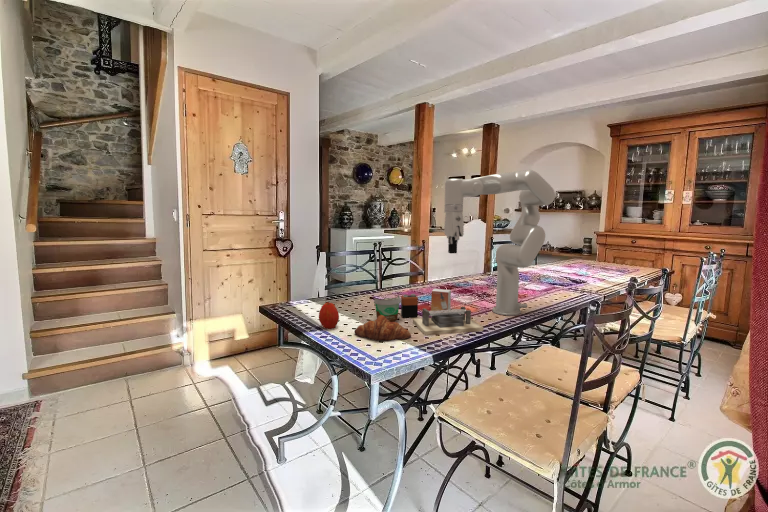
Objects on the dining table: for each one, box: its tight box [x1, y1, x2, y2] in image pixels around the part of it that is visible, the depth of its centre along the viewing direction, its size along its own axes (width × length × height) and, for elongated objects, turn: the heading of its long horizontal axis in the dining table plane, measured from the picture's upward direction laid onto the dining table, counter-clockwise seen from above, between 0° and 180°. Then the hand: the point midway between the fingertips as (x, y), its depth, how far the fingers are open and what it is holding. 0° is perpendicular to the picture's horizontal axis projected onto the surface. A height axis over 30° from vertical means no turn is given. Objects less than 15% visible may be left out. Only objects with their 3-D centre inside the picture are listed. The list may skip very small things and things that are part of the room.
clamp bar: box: [428, 308, 467, 317], centre depth 149 cm, size 17×4×1 cm, turn 102°
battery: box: [400, 293, 419, 319], centre depth 164 cm, size 4×7×10 cm, turn 98°
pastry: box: [354, 315, 412, 342], centre depth 139 cm, size 17×15×8 cm
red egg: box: [318, 301, 340, 330], centre depth 148 cm, size 8×8×11 cm
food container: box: [373, 295, 401, 322], centre depth 157 cm, size 12×6×10 cm, turn 117°
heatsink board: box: [412, 306, 485, 336], centre depth 150 cm, size 24×16×8 cm, turn 102°
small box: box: [430, 288, 452, 311], centre depth 170 cm, size 8×6×10 cm
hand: (452, 253), depth 155 cm, fingers closed
